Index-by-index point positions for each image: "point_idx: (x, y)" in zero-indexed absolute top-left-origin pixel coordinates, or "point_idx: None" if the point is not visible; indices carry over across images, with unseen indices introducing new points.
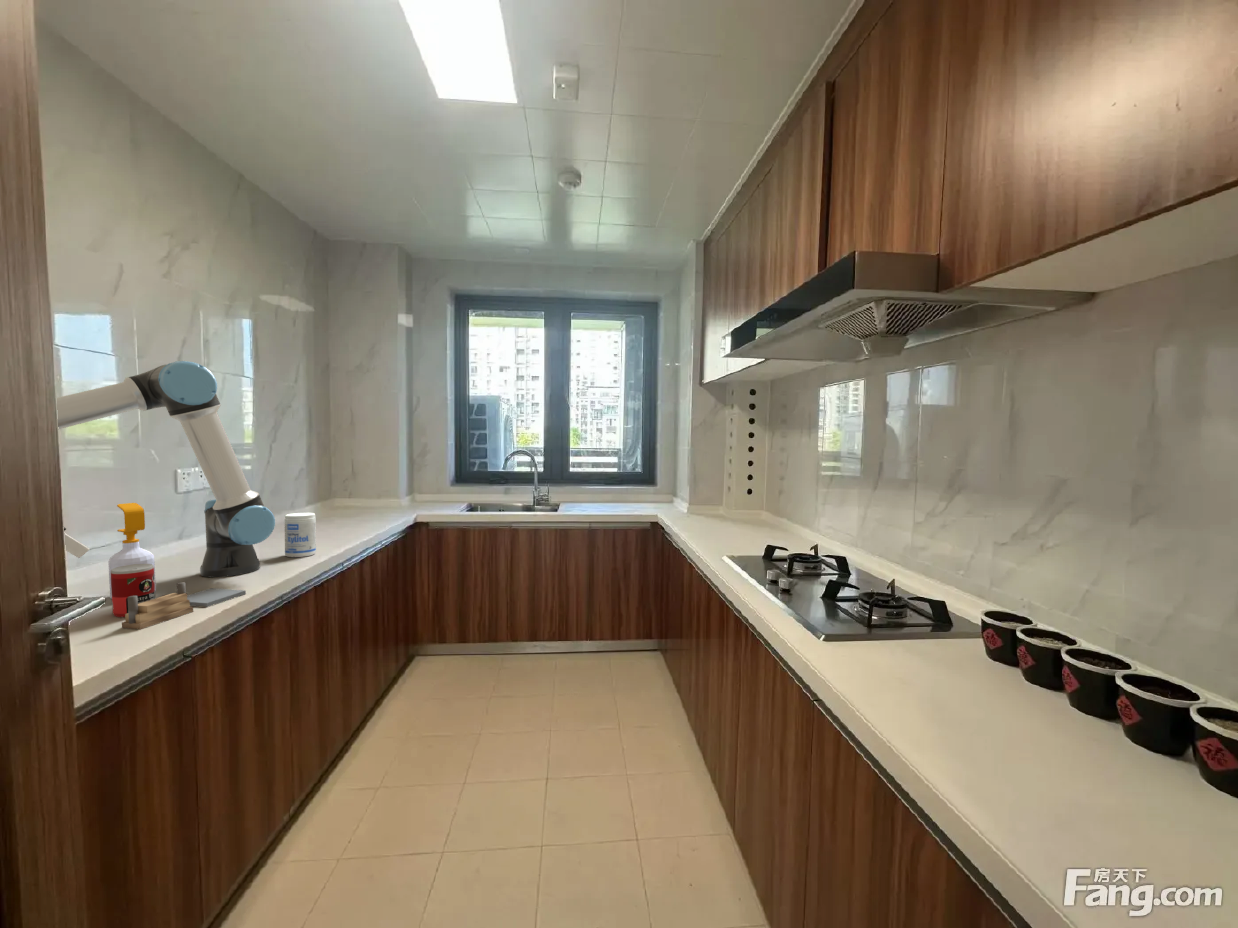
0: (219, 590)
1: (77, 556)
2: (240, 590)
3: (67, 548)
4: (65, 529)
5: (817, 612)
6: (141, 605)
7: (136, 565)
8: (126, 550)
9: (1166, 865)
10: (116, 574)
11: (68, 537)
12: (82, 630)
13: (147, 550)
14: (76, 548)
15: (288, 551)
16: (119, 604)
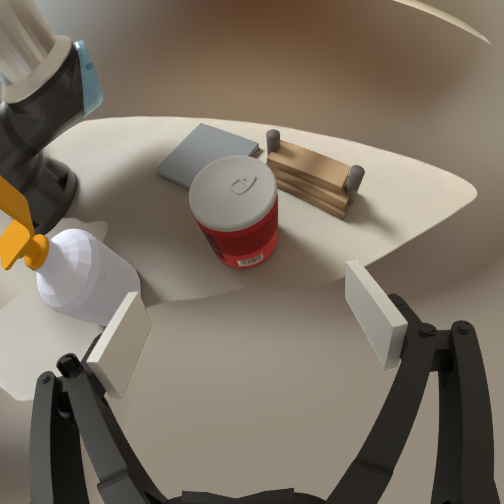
0: (179, 153)
1: (150, 326)
2: (197, 128)
3: (136, 350)
4: (74, 354)
5: None
6: (344, 175)
7: (197, 195)
8: (62, 262)
9: (478, 33)
10: (272, 207)
11: (112, 341)
12: (339, 276)
13: (52, 238)
14: (135, 324)
15: None
16: (275, 238)
